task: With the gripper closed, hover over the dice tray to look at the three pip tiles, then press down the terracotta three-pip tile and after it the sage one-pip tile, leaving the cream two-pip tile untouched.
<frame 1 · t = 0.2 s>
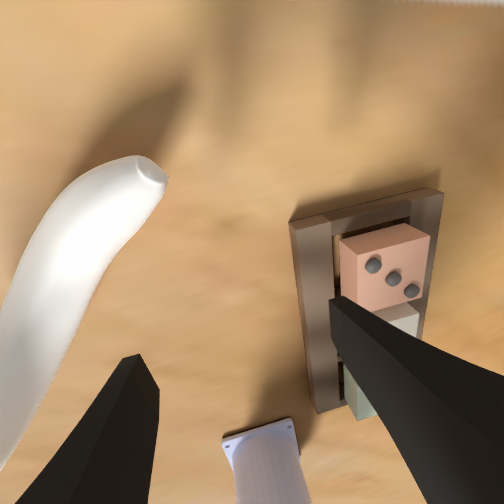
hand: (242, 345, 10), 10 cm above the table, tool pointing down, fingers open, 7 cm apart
tile two: (378, 336, 22), point 3 cm above the table, slide at 0.0 cm
tile one: (376, 386, 25), point 3 cm above the table, slide at 0.0 cm
dice tray: (358, 312, 25), on the table
tile three: (382, 270, 19), point 3 cm above the table, slide at 0.0 cm
banana: (81, 265, 18), on the table
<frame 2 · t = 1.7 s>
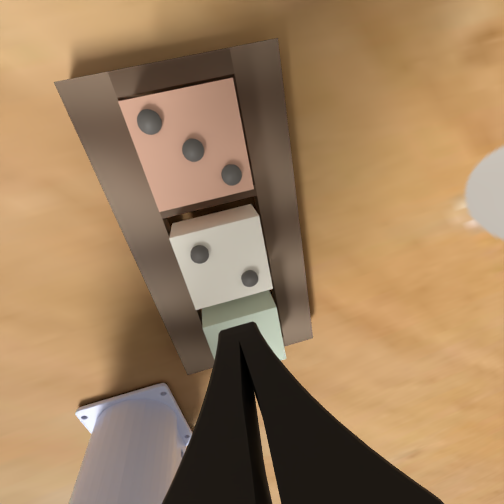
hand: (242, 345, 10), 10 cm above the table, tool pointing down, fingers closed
tile two: (223, 257, 17), point 3 cm above the table, slide at 0.0 cm
tile one: (244, 333, 20), point 3 cm above the table, slide at 0.0 cm
dice tray: (219, 238, 19), on the table
tile three: (193, 147, 14), point 3 cm above the table, slide at 0.0 cm
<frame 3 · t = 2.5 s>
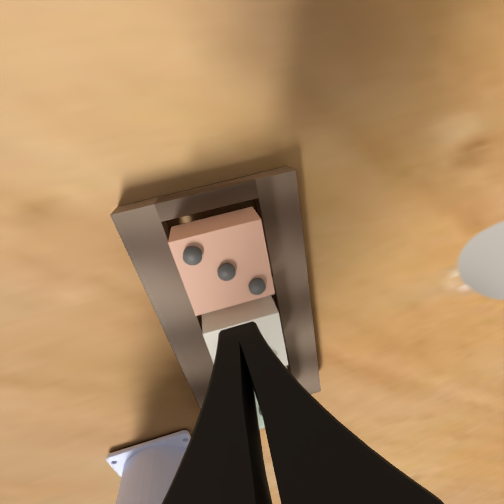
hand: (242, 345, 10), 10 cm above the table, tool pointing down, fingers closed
tile two: (246, 339, 19), point 3 cm above the table, slide at 0.0 cm
tile one: (261, 396, 22), point 3 cm above the table, slide at 0.0 cm
dice tray: (239, 312, 22), on the table
tile three: (224, 262, 16), point 3 cm above the table, slide at 0.0 cm
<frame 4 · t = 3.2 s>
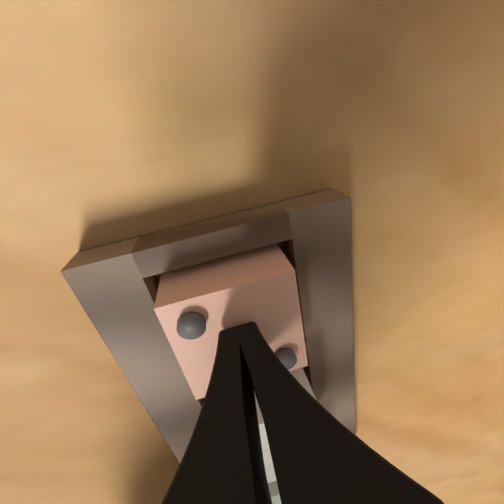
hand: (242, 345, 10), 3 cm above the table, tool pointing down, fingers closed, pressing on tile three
tile two: (267, 431, 14), point 3 cm above the table, slide at 0.0 cm
tile one: (284, 490, 17), point 3 cm above the table, slide at 0.0 cm
dice tray: (255, 379, 16), on the table
tile three: (237, 323, 11), point 2 cm above the table, slide at 0.9 cm, touching gripper
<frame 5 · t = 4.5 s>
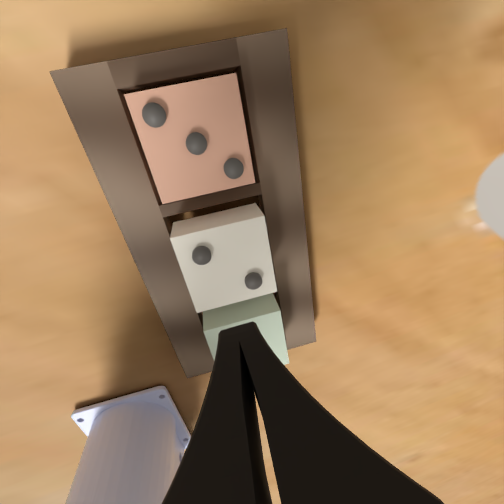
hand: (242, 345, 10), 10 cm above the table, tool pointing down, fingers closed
tile two: (226, 258, 16), point 3 cm above the table, slide at 0.0 cm
tile one: (246, 337, 19), point 3 cm above the table, slide at 0.0 cm
dice tray: (222, 238, 19), on the table
tile three: (196, 141, 14), point 2 cm above the table, slide at 1.1 cm
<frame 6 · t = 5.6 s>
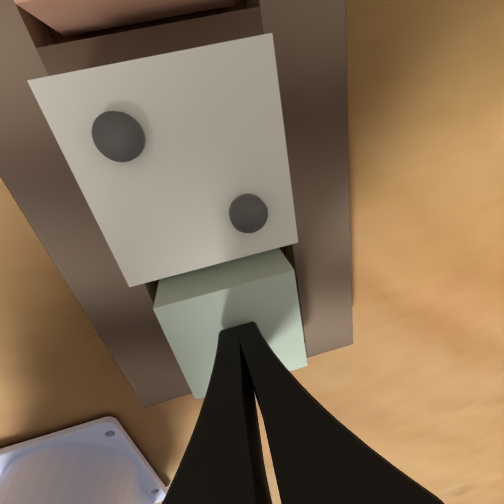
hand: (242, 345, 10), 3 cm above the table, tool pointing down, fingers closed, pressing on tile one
tile two: (191, 171, 8), point 3 cm above the table, slide at 0.0 cm
tile one: (236, 323, 11), point 2 cm above the table, slide at 0.9 cm, touching gripper
dice tray: (191, 158, 10), on the table
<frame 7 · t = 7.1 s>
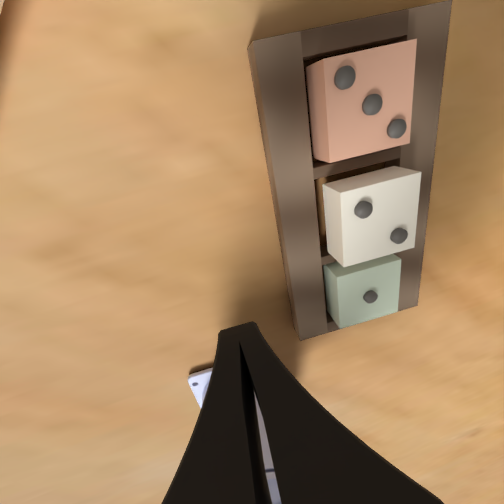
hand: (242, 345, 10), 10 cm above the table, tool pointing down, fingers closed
tile two: (370, 217, 17), point 3 cm above the table, slide at 0.0 cm
tile one: (361, 288, 21), point 2 cm above the table, slide at 1.1 cm
dice tray: (346, 204, 20), on the table
tile three: (359, 105, 15), point 2 cm above the table, slide at 1.1 cm
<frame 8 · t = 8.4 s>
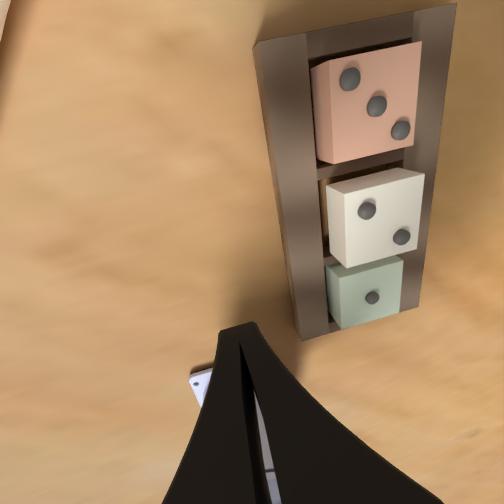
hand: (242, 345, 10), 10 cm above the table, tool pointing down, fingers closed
tile two: (373, 218, 17), point 3 cm above the table, slide at 0.0 cm
tile one: (363, 289, 21), point 2 cm above the table, slide at 1.1 cm
dice tray: (349, 205, 20), on the table
tile three: (364, 107, 15), point 2 cm above the table, slide at 1.1 cm
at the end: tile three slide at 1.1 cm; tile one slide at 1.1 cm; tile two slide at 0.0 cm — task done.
